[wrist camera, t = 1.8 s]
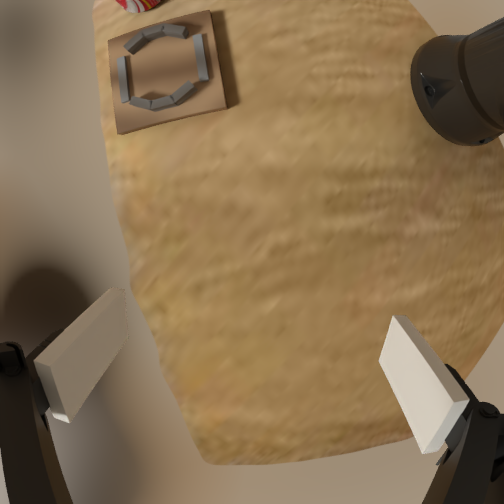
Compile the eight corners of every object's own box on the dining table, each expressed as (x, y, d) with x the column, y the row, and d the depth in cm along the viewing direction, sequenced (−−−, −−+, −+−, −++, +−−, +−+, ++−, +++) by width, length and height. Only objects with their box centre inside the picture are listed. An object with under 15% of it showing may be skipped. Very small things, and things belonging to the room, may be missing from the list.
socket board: (112, 43, 30) (101, 36, 27) (211, 14, 29) (206, 3, 26) (122, 134, 34) (110, 133, 31) (227, 109, 33) (223, 103, 30)
